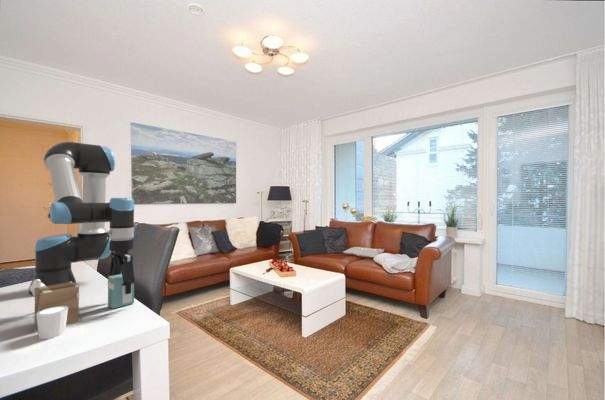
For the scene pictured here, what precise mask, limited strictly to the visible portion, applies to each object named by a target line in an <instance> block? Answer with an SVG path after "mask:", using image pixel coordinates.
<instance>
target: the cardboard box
mask: <svg viewBox="0 0 605 400" xmlns="http://www.w3.org/2000/svg"><path fill="white" fill-rule="evenodd" d="M79 301H80V286H79V285H77V283H76V284H74V283H73V282H72V281H70V282H66V283H61V284H55V285H49V286H42V287H38V288H35V297H34V312H35V313H34V315H35V316H34V325H35V326H36V328H37V329H38V325H37V317H36V314H37V312H39V311H41V310H44V309H47V308H51V307H57V306H67V307H68V313H67V321H66V325H69V324H72V323H73V324H74V323H76V322H79V318H80V317H79V315H80V314H79V313H80V311H79V309H80V308H79V307H80V304H79V303H80V302H79Z"/></svg>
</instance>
